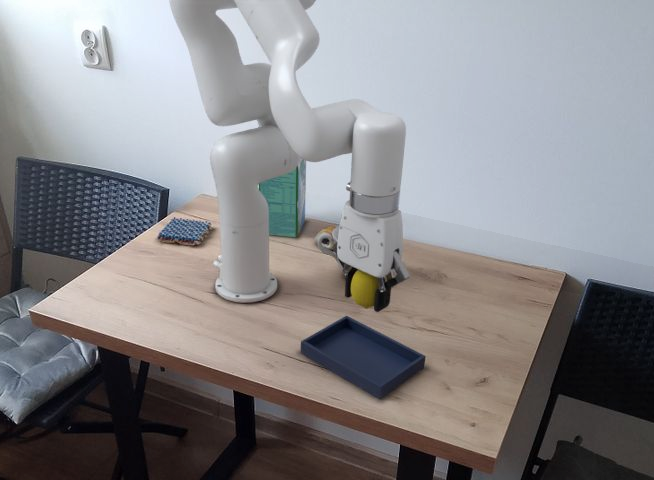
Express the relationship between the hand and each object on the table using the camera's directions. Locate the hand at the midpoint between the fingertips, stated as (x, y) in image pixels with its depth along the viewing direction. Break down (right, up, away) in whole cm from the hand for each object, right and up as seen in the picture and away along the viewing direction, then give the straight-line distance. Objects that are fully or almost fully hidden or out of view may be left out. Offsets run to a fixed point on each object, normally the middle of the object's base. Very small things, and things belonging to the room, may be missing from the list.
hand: (366, 300), depth 117 cm
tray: (0, -10, +7) cm, 12 cm away
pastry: (-4, +16, +44) cm, 47 cm away
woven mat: (-38, +18, +46) cm, 63 cm away
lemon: (0, -1, +1) cm, 2 cm away
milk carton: (-16, +21, +50) cm, 57 cm away
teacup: (0, +7, +32) cm, 33 cm away
